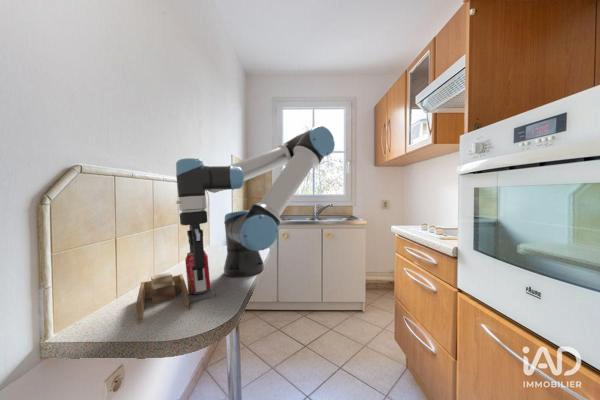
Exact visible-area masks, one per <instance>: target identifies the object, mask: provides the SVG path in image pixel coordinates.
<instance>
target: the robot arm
mask: <svg viewBox="0 0 600 400" xmlns="http://www.w3.org/2000/svg"><path fill="white" fill-rule="evenodd" d="M335 145H336V144H335V139H334V136H333V134H332V132H331V130H329V129H328V128H327V127H326V126H323V125H317V126H313V127H311V129H309V130H307V131H304V132H302V133H300V134H298V135H296V136H295V137H293V138H291V139H290V140H287V141H285V142H284V143H281V144H279V145H277V148H274V149H272V150H269V151H266V152H263V153H260V154H258V155H255V156H254V155H253V156H252V157H248V158H247V159H244V160H240V161H238V162H235V163H232V164H230V165H226V166H225V165H224V166H219V165H218V166H209V165H205V164H204V161H203V160H202V159H200V158H193V157H191V158H190V157H188V158H186V157H185V158H180V159H178V160H177V161H176V163H175V164H176V165H175V169H176V170H175V171H176V173H175V174H176V175H175V177H176V186H177V196H178V200H176V205H178V207H179V211H181V212H180V214H179V222H180V223H179V224H180V225H181V226H189V230H187V231H186V234H187V238H188V244H189V252H191V253H193V257H194V268H192V270H194V277H195V289H196V292H199V291H203V290H206V284H205V272H204V267H205V259H204V251H205V250H204V248H205V247H204V230H203V229H202V228H201V226H200V225H201V224H202V225H203V224H206V223H208V221H209V220H208V211H207V210H205V209H207V207H208V206H207V196H206V191H207V192H209V193H218V192H222V191H226V190H233V191H234V190H238V189H242V187H243V185H244V183H245V181H248V180H250V179H253V178H255V177H258V176H260V175H263V174H265V173H268V172H270V171H273V170H275V169H278V168H280V167H283V166H285V167H284V168H283V169H282V170H281V172H280V174H279V175H278V177H276V179H275V180H274V182H273V184H271V186H270V187H269V188H268V190H267V192H266V193H265V194H264V196H263V197H262V199H261V200H260V201H259V202H256V203H253V204H252V205H251V206H250V207H249V209H248V210H237V211H233V212H229V213H226V214H225V216H224V223H223V224H224V229H225V242H226V252H227V253H226V258H225V262H224V266H223V273H224V276H225V277H230V278H239V277H240V278H241V277H242V278H243V277H249V276H253V275H256V274H259V273H261V272H263V271H264V270H265V265H264V260H263V258H262V256H261V254H260V251H264V250H267V249H269V248H271V246H273V244H274V243H275V242H276V240H277V238H278V235H279V234H278V233H279V232H278V229H279V228H278V227H279V226H280V224H281V222H282V221H281V218H280V217H281V215H282V214H283V212H284V211H285V209H286V208H287V206H288V205H289V203H290V202H291V200H292V198H293V197H294V195H295V194H296V193H297V191H298V189H299V188H300V187H301V185H302V184H303V182H304V180H305V179H306V177H307V176H308V174H309V173H310V172H311V170H312V168H313V169H314V168H317V167H319V165H320V164H321V162H322V160H323V159H324V158H325V157H328V156H329V155H331V154H332V153H333V152H334V150H335ZM201 263H202V264H201Z"/></svg>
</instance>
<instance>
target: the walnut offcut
mask: <svg viewBox="0 0 600 400" xmlns="http://www.w3.org/2000/svg"><path fill="white" fill-rule="evenodd" d="M151 295H152V298H151V303H152V304H154V303H160V302H164V301H168V300H171V298H172V299H176V298H175V297H176V296H177V295H176V292H175V284H174V281H173V285H169V286H165V287H161V288H157V289H153V288H152V287H151Z"/></svg>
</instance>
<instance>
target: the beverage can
mask: <svg viewBox="0 0 600 400" xmlns="http://www.w3.org/2000/svg"><path fill="white" fill-rule="evenodd" d="M204 259H205V267H204V272H205V284H206V290H203V291H199V292H196V289H195V277H194V270H192V268H194V257H193V253H191V252H190V251H189V252H187V254H186V257H185V259H184V260H185V271H186V281H187V290H188V292H189V293H192V294H200V293H204V292H206V291H207V290H208V289H209V288H210V287H211V279H210V278H211V277H210V268H209V266H210V265H209V257H208V254H207V253H206V251H205V250H204ZM201 264H202V263H201Z"/></svg>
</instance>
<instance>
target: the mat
mask: <svg viewBox="0 0 600 400" xmlns="http://www.w3.org/2000/svg"><path fill="white" fill-rule="evenodd" d="M214 297H216V293H215V292H214V290H213V289H212V287H211V286H210V288H209V289H208V290H207V291H206V292H204V293H200V294H192V293H189V292H188V300H189V304H191V303H190V302H192V303H195V302H199V301H203V300H206V299H209V298H211V299H212V298H214ZM198 300H199V301H198ZM194 301H195V302H194Z"/></svg>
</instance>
